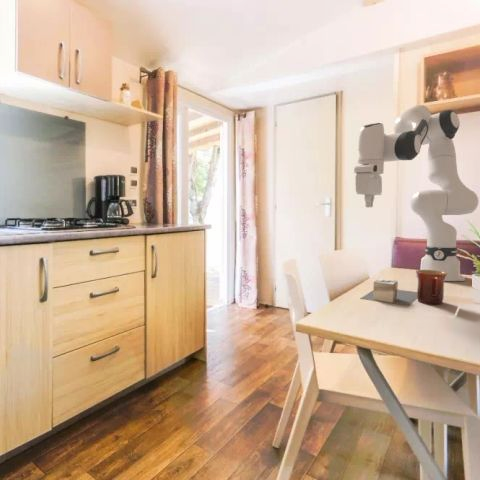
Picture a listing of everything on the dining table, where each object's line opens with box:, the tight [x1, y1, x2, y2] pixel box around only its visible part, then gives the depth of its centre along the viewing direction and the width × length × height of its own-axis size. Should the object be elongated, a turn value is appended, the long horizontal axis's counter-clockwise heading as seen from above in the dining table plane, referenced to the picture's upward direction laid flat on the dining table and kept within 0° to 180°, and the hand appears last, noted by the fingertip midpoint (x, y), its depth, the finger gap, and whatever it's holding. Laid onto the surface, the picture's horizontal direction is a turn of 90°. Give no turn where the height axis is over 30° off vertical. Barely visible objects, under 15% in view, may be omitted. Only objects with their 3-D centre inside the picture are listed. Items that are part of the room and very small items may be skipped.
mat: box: [359, 289, 418, 307], centre depth 119 cm, size 22×15×1 cm
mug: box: [415, 269, 447, 306], centre depth 108 cm, size 12×9×10 cm
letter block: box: [372, 278, 399, 302], centre depth 113 cm, size 6×6×6 cm
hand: (369, 207), depth 126 cm, fingers closed
